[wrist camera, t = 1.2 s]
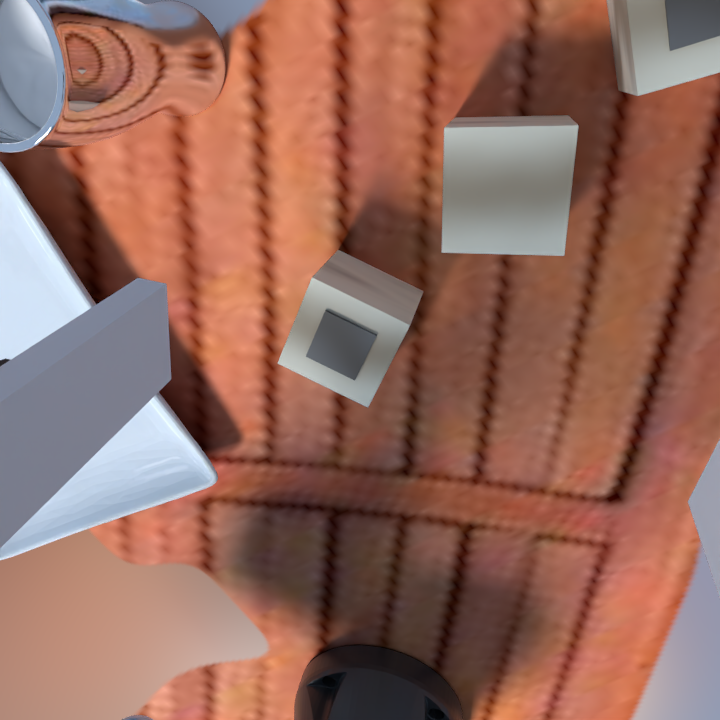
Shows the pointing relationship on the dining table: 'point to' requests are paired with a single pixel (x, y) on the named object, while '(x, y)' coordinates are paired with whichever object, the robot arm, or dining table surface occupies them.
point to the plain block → (508, 184)
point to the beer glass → (101, 68)
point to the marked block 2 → (663, 42)
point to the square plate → (134, 441)
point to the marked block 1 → (350, 327)
